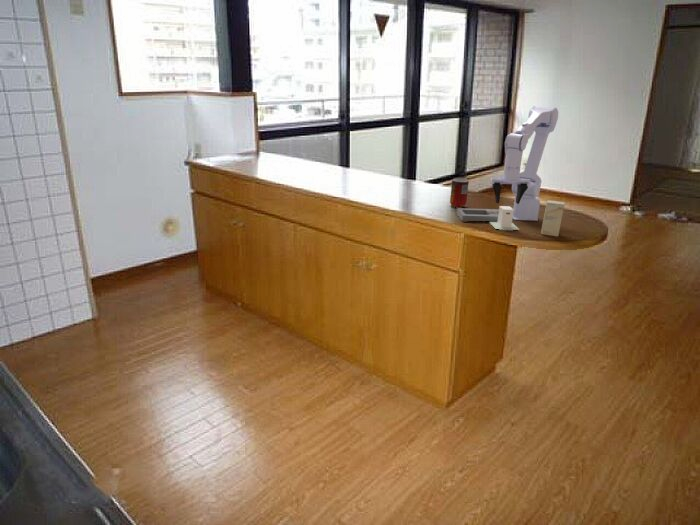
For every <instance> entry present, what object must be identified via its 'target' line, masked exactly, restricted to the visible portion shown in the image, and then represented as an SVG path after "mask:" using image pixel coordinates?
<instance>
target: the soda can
mask: <svg viewBox="0 0 700 525" xmlns="http://www.w3.org/2000/svg"><path fill="white" fill-rule="evenodd" d="M469 183H470V181H469V179H467V178H466V177H465V178H464V177H455V178H453V179H452V181H451V189H450V196H449V199H450V200H449V203H450V205H451V207H452V208H454V207H456V209H457V208H462V207H464V208H465V206H466V205H467V201H468V193H469V192H468V191H469Z"/></svg>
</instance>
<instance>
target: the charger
mask: <svg viewBox="0 0 700 525" xmlns="http://www.w3.org/2000/svg"><path fill="white" fill-rule="evenodd" d="M498 209H499V214H498V221H497V224H498V225H499V226H500V227H507V228H511V226H512V223H513V220H514V219H513V212H514V208H513V207H511V206H510V205H499V208H498Z"/></svg>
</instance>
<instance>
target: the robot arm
mask: <svg viewBox="0 0 700 525" xmlns="http://www.w3.org/2000/svg"><path fill="white" fill-rule="evenodd" d="M558 119H559V110H558V107H546V106H545V107H543V106H535V105H533V106H531V108H530V110H529V112H528V119H527V120H526V122H522V123H521V124H520V125H519V126H518V127H517V128H516V129H515V130H514V132H511V133H509V134H507V136H506V137H505V141H504V154H505V159H504V167H503V174H502V175H503V176H502V177H490V179H489V180H490V181H489V183H490V184H491V187H492V189H493V191H494V196H495V203H496V204H500V199H501V198H500V197H501V196H500V195H501V192H502V188H503V186H502V185H511V192H512V195H513V196H514V204H513V209H514V212H513V219H512V220H515V221H538V220H539V219H538V218H539V212H540V207H541V206H540V202H541V201H540V198H539V195H540V192H541V185H542V178H541V177H540V176H539V175H538V174H537V172H538V170H539V167H540V163H541V160H542V157H543V154H544V150H545V146H546V144H547V140H548V138H549V134H551V133H552V132H554V130H555V129H556V125H557V122H558ZM534 133H535V134H534ZM533 134H534V138H533V141H532V143H531V147H530V151H529V155H528V157H527V161H526V164H525V167H524V170H523V171H521V166H522V161H523V160H522V159H523V153H524V151H525V150H526V147H527V145H528V143H529V140H530V138H531V137H532V136H533Z"/></svg>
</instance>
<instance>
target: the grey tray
mask: <svg viewBox="0 0 700 525" xmlns="http://www.w3.org/2000/svg"><path fill="white" fill-rule="evenodd" d="M498 214H499V208H498V209H496V208H491V209H490V208H465V207H464V208H456V215H457V217H458V216H459V217H460V218H459V217H458V218H459V220H460V221H461V220H462V221H461V222H467V221H490V222H497V221H498Z"/></svg>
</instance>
